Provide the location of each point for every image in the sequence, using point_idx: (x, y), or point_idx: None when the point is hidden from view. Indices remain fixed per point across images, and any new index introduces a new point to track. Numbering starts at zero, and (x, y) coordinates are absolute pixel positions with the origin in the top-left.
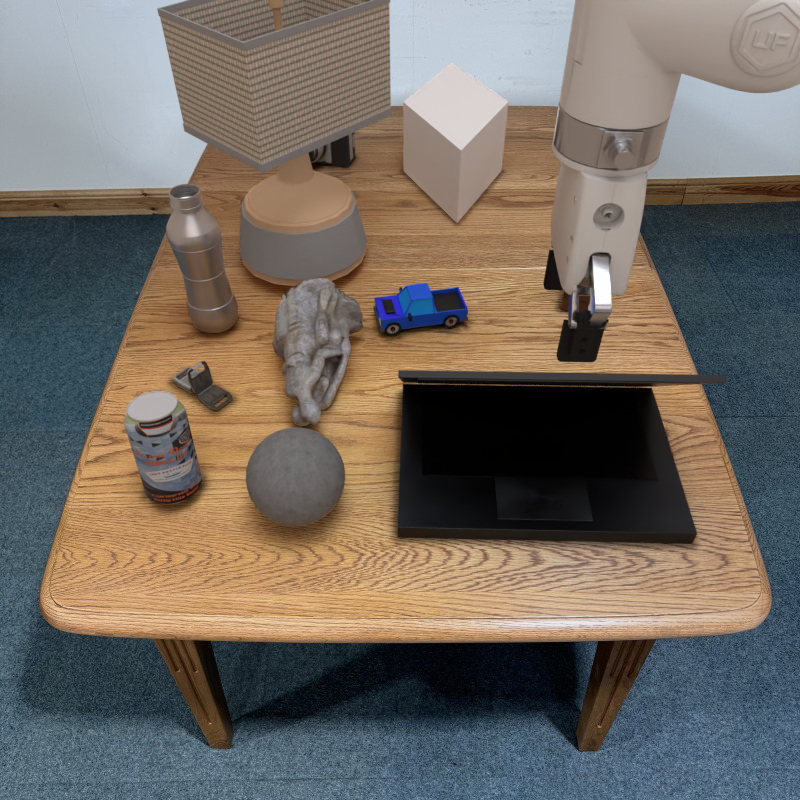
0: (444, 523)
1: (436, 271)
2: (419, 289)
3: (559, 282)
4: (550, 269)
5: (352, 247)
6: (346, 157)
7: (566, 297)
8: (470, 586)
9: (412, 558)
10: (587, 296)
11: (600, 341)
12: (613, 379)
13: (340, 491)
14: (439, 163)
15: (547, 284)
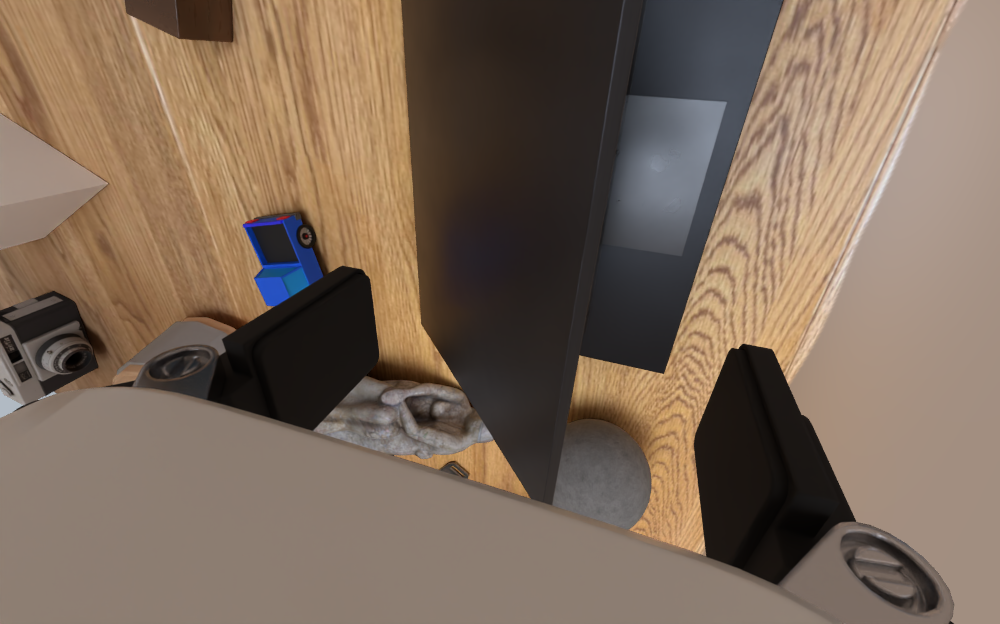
0: (671, 323)
1: (213, 230)
2: (269, 291)
3: (358, 344)
4: (331, 407)
5: (219, 353)
6: (59, 309)
7: (208, 33)
8: (765, 298)
9: (699, 352)
10: None
11: (801, 417)
12: (618, 122)
13: (621, 443)
14: (3, 222)
15: (367, 369)
